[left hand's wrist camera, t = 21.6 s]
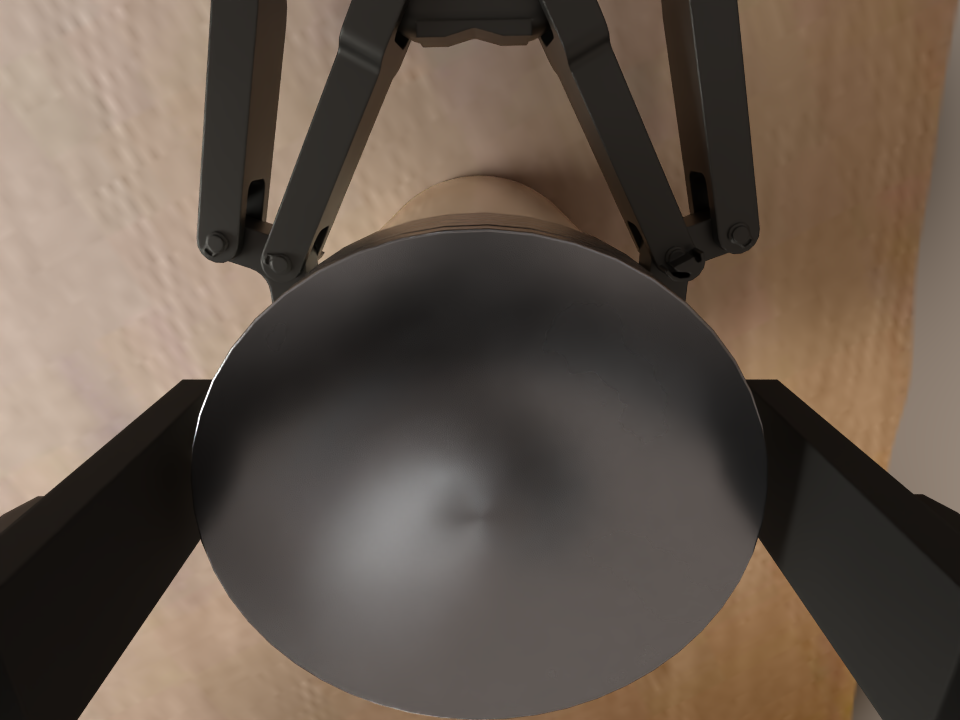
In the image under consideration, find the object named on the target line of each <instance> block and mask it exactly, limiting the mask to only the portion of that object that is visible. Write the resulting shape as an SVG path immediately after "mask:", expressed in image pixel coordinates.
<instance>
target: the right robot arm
mask: <svg viewBox="0 0 960 720" xmlns="http://www.w3.org/2000/svg"><path fill="white" fill-rule="evenodd" d="M661 2H662V13H663V22H664V29H665V37H666V44H667V51H668V58H669V65H670V73H671V80H672V87H673V94H674V101H675V109H676V116H677V123H678V130H679V137H680V145H681V152H682V159H683V166H684V173H685V181H686V188H687V195H688V202H689V209H690V215H688V216H685V217H682V214H681V212H680V210H679V207H678V205H677V203H676V200H675V198H674V195H673V193H672V191H671V188H670V186H669V183H668V181H667V179H666V176H665V174H664V172H663V169H662V167H661V164H660V162H659V160H658V157H657V155H656V152H655V150H654V148H653V145H652V143H651V141H650V138H649V136H648V133H647V131H646V129H645V126H644V124H643V121H642V119H641V117H640V114H639V112H638V110H637V107H636V105H635V102H634V100H633V98H632V95H631V93H630V90H629V88H628V86H627V83H626V81H625V79H624V76H623V74H622V71H621V69H620V67H619V64H618V62H617V59H616V57H615V55H614V52H613V50H612V47H611V44H610V37H609V31H608V27H607V24H606V21H605V19H604V16H603V14H602V11H601V9H600V7H599V4H598V2H597V0H352V1H351V4H350V7H349V9H348V12H347V15H346V17H345V20H344V23H343V26H342V29H341V32H340V37H339V48H338V52H337V55H336V58H335V61H334V63H333V66H332V69H331V71H330V74H329V77H328V79H327V82H326V85H325V87H324V90H323V93H322V95H321V98H320V101H319V103H318V106H317V109H316V111H315V114H314V117H313V119H312V122H311V125H310V127H309V130H308V133H307V135H306V138H305V141H304V143H303V146H302V149H301V151H300V154H299V157H298V159H297V162H296V165H295V167H294V170H293V173H292V175H291V178H290V181H289V183H288V186H287V189H286V191H285V194H284V197H283V199H282V202H281V205H280V207H279V210H278V213H277V215H276V218H275V221H274V223H273V224H270V223H267V222H266V217H267V207H268V198H269V188H270V178H271V168H272V158H273V149H274V139H275V129H276V119H277V109H278V100H279V90H280V80H281V70H282V60H283V51H284V41H285V31H286V17H287V0H211V11H210V28H209V44H208V61H207V77H206V93H205V110H204V126H203V143H202V159H201V175H200V192H199V208H198V225H197V244H198V248H199V249H200V251H201V253H202V254H203V255H204V256H205V257H206V258H207V259H209V260H211V261H213V262H216V263H224V262H227V261H229V262H233V263H236V264H239V265H242V266H245V267H248V268H251V269H253V270H255V271H257V272H258V273H260V274H261V275H262V276H263V277H264V278H265V280H266V281H267V283H268V285H269V288H270V291H271V298H272V303H273V302H274V301H275V300H277V299H278V298H279V297H280V296H281V295H282V294H283V293H284V292H286V291H287V290H288V289H289V288H290V287H292V286H293V285H294V284H295V283H296V282H298V281H299V280H300V279H301V278H302V277H304V276H305V275H306V274H307V273H308V272H310V271H311V270H312V269H313V268H314V267H316V266H317V265H318V260H319V259H320V258H321V257H322V256H323V254H324V253H325V252H323V251H322V249H323V247H324V244H325V242H326V240H327V237H328V235H329V232H330V230H331V227H332V225H333V223H334V220H335V218H336V215H337V213H338V210H339V208H340V206H341V203H342V201H343V198H344V196H345V193H346V191H347V189H348V186H349V184H350V181H351V179H352V176H353V174H354V171H355V169H356V167H357V164H358V162H359V159H360V157H361V154H362V152H363V150H364V147H365V145H366V142H367V140H368V137H369V135H370V133H371V130H372V128H373V125H374V123H375V120H376V118H377V116H378V113H379V111H380V108H381V106H382V103H383V101H384V99H385V96H386V94H387V91H388V89H389V86H390V84H391V82H392V80H393V78H394V76H395V75H396V73H397V72H398V70H399V68H400V66H401V64H402V61H403V59H404V57H405V54H406V52H407V49H408V47H409V45H410V42H411V40H412V41H414V42H417V43H420V44H421V45H422V46H423V47H449V46H452V45H455V44H458V43H461V42H465V41H468V40H471V39H479V40H483V41H486V42H490V43H493V44H497V45H500V46H513V45H527V44H528V42H529V41H531V40H534V39H536V38H539V40H540V43H541V45H542V47H543V49H544V51H545V54H546V56H547V58H548V60H549V62H550V64H551V66H552V68H553V69H554V71H555V72H556V74H557V75H558V77H559V79H560V81H561V83H562V85H563V87H564V90H565V92H566V94H567V96H568V98H569V101H570V103H571V105H572V107H573V109H574V111H575V114H576V116H577V118H578V120H579V122H580V125H581V127H582V129H583V131H584V133H585V136H586V138H587V140H588V142H589V144H590V147H591V149H592V151H593V153H594V155H595V158H596V160H597V162H598V164H599V166H600V169H601V171H602V173H603V175H604V177H605V180H606V182H607V184H608V186H609V188H610V191H611V193H612V195H613V197H614V199H615V202H616V204H617V206H618V208H619V210H620V213H621V215H622V217H623V219H624V221H625V223H626V226H627V228H628V230H629V232H630V234H631V237H632V239H633V241H634V243H635V245H636V248H637V250H638V252H639V253H640V256H639V264H640V265H641V266H642V267H644V268H645V269H646V270H648V271H649V272H650V273H652V274H653V275H654V276H655V277H657V278H658V279H659V280H660V281H661V282H663V283H664V284H665V285H666V286H667V287H668V288H670V289H671V290H672V291H673V292H674V293H676V294H677V295H678V296H679V297H680V298H682V299H683V300H684V301H686V292H687V284H688V281H691V280H693V279H694V278H696V277H697V276H698V275H699V274H700V273H701V271H702V270H703V268H704V264H705V261H707V260H709V259H712V258H715V257H718V256H720V255H723V254H726V253H732V254H740V253H743V252H745V251H748V250H749V249H750V248H751V247H752V246H754V245H755V243H756V241H757V239H758V237H759V230H760V227H759V217H758V207H757V196H756V186H755V176H754V166H753V156H752V146H751V135H750V125H749V115H748V105H747V95H746V84H745V74H744V64H743V54H742V44H741V33H740V23H739V13H738V3H737V0H661Z"/></svg>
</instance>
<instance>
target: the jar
mask: <svg viewBox="0 0 960 720" xmlns="http://www.w3.org/2000/svg"><path fill="white" fill-rule="evenodd" d="M481 212H489V213H500V214H511V215H521V216H527V217H532V218H536V219H540V220H545V221H549V222H553V223H558V224H561V225H564V226H567V227H569V228H572V229H575V230H577V231H580V230H579V229H578V228H577V227H576V226H575V225H574V224H573V223H572V222H571V221H570V220H569V219H568V218H567V217H566V216H565V215H564V214H563V213H562V212H561V211H560V210H559V209H558V208H557V207H556V206H555V205H554V204H553V203H552V202H551V201H549V200H548V199H547V198H546V197H545V196H543V195H542V194H540V193H538V192H537V191H535V190H533V189H532V188H530V187H528V186H525V185H523V184H521V183H519V182H516V181H512V180H509V179H505V178H500V177H494V176H466V177H458V178H454V179H451V180H447V181H443V182H441V183H439V184H436V185H434V186H432V187H429V188H428V189H426V190H424V191H423V192H421V193H419V194H418V195H416V196H415V197H414V198H413V199H411V200H410V201H409V202H408V203H406V204H405V205H404V206H403V207H402V208H401V209H400V210H399V211H398V212H397V213H396V214H395V215H394V216H393V217H392V218H391V219H390V220H389V221H388V222H387V223H386V224H385V225H384V226H383V227H382V228H381V229H380V230H384V229H387V228H390V227H393V226H396V225H399V224H402V223H405V222H409V221H412V220H417V219H422V218H428V217H434V216H439V215H445V214H457V213H481ZM380 230H379V231H380ZM580 232H581V231H580Z"/></svg>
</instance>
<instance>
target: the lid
mask: <svg viewBox="0 0 960 720" xmlns="http://www.w3.org/2000/svg"><path fill="white" fill-rule="evenodd" d="M191 489H192V499H193V509H194V514H195V518H196V522H197V526H198V530H199V534H200V538H201V542H202V544H203V546H204V549H205V551H206V554H207V556H208V558H209V561H210V563H211V566H212V568H213V570H214V572H215V574H216V576H217V577H218V579H219V581H220V582H221V584H222V586H223V587H224V589H225V591H226V593H227V594H228V596H229V598H230V599H231V600H232V601H233V603H234V604H235V605H236V607H237V608H238V609H239V610H240V612H241V613H242V614H243V616H244V617H245V618H246V619H247V621H248V622H249V623H250V624H251V625H252V626H253V627H254V628H255V629H256V630H257V631H258V632H259V633H260V634H261V635H262V636H263V637H264V638H265V639H266V640H267V641H268V642H269V643H270V644H271V645H272V646H274V647H275V648H276V649H277V650H279V651H280V652H281V653H282V654H284V655H285V656H286V657H288V658H289V659H290V660H291V661H293V662H294V663H295V664H297V665H298V666H300V667H302V668H303V669H305V670H306V671H308V672H310V673H311V674H313V675H314V676H316V677H318V678H319V679H321V680H322V681H325V682H327V683H329V684H331V685H333V686H335V687H337V688H339V689H341V690H343V691H345V692H347V693H349V694H352V695H354V696H357V697H360V698H362V699H365V700H368V701H371V702H373V703H376V704H379V705H382V706H386V707H390V708H394V709H398V710H402V711H405V712H409V713H415V714H421V715H427V716H434V717H440V718H452V719H468V720H486V719H509V718H517V717H525V716H533V715H539V714H544V713H548V712H553V711H557V710H562V709H566V708H570V707H573V706H576V705H579V704H582V703H585V702H588V701H591V700H594V699H597V698H600V697H602V696H604V695H607V694H609V693H611V692H613V691H616V690H618V689H620V688H623V687H625V686H627V685H629V684H630V683H632V682H634V681H636V680H637V679H639V678H641V677H643V676H644V675H646V674H648V673H650V672H652V671H653V670H655V669H656V668H657V667H659V666H660V665H662V664H663V663H664V662H666V661H667V660H669V659H670V658H671V657H673V656H674V655H676V654H677V653H678V652H679V651H681V650H682V649H683V648H684V647H685V646H686V645H687V644H688V643H689V642H690V641H692V640H693V639H694V638H695V637H696V636H697V635H698V634H699V633H700V632H701V631H702V630H703V629H704V628H705V627H706V626H707V625H708V623H709V622H710V621H711V620H712V619H713V618H714V616H715V615H716V614H717V613H718V612H719V611H720V610H721V608H722V607H723V606H724V604H725V603H726V601H727V600H728V598H729V596H730V595H731V593H732V592H733V590H734V589H735V587H736V586H737V584H738V583H739V581H740V579H741V577H742V575H743V573H744V571H745V569H746V567H747V565H748V563H749V561H750V558H751V556H752V554H753V552H754V549H755V545H756V542H757V539H758V536H759V533H760V530H761V526H762V523H763V517H764V511H765V504H766V498H767V492H768V458H767V451H766V445H765V438H764V432H763V425H762V422H761V419H760V416H759V413H758V410H757V407H756V404H755V401H754V397H753V394H752V392H751V390H750V388H749V386H748V384H747V382H746V380H745V378H744V376H743V374H742V372H741V370H740V368H739V366H738V364H737V362H736V360H735V359H734V358H733V356H732V355H731V353H730V352H729V351H728V349H727V348H726V346H725V345H724V344H723V342H722V341H721V340H720V338H719V337H718V335H717V334H716V333H715V331H714V330H713V329H712V328H711V327H710V326H709V325H708V324H707V323H706V322H705V321H704V320H703V319H702V318H701V317H700V316H699V315H698V314H697V313H696V312H695V311H694V310H693V309H692V308H691V307H690V306H689V305H688V304H687V303H686V302H685V301H684V300H683V299H682V298H680V297H679V296H678V295H677V294H676V293H674V292H673V291H672V290H671V289H670V288H668V287H667V286H666V285H665V284H664V283H663V282H661V281H660V280H659V279H658V278H657V277H655V276H654V275H653V274H652V273H650V272H649V271H648V270H646V269H645V268H644V267H642V266H641V265H640V264H638V263H637V262H636V261H634V260H633V259H632V258H630V257H629V256H628V255H626V254H624V253H623V252H621V251H619V250H617V249H615V248H614V247H612V246H610V245H608V244H606V243H604V242H603V241H601V240H599V239H597V238H595V237H593V236H590V235H588V234H585V233H582V232H580V231H577V230H575V229H572V228H569V227H567V226H564V225H561V224H558V223H553V222H549V221H545V220H540V219H536V218H532V217H527V216H521V215H511V214H500V213H489V212H481V213H457V214H445V215H439V216H434V217H428V218H422V219H417V220H412V221H409V222H405V223H402V224H399V225H396V226H393V227H390V228H387V229H384V230H380V231H377V232H375V233H373V234H371V235H369V236H367V237H365V238H363V239H361V240H359V241H356V242H354V243H352V244H350V245H348V246H346V247H344V248H343V249H341V250H340V251H338V252H337V253H335V254H334V255H332V256H331V257H329V258H328V259H326V260H325V261H323V262H322V263H320V264H319V265H317V266H316V267H314V268H313V269H312V270H311V271H310V272H308V273H307V274H306V275H305V276H304V277H302V278H301V279H300V280H299V281H298V282H296V283H295V284H294V285H293V286H292V287H290V288H289V289H288V290H287V291H286V292H284V293H283V294H282V295H281V296H280V297H279V298H278V299H277V300H275V301H274V302H273V303H272V304H271V305H270V306H269V307H268V308H267V309H265V310H264V311H263V312H262V313H261V314H260V315H259V316H258V317H257V318H255V320H254V321H253V322H252V323H251V324H250V326H249V327H248V328H247V329H246V331H245V332H244V333H243V334H242V335H241V337H240V338H239V339H238V340H237V341H236V343H235V344H234V345H233V346H232V348H231V349H230V351H229V352H228V354H227V356H226V358H225V359H224V361H223V363H222V364H221V366H220V368H219V369H218V371H217V373H216V375H215V376H214V378H213V380H212V382H211V385H210V387H209V390H208V392H207V395H206V397H205V400H204V402H203V405H202V408H201V410H200V413H199V418H198V422H197V427H196V431H195V436H194V440H193V445H192V462H191Z"/></svg>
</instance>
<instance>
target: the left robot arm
mask: <svg viewBox="0 0 960 720" xmlns="http://www.w3.org/2000/svg"><path fill="white" fill-rule="evenodd" d="M211 382H212V380H182V381H180V382H179V383H178V384H177V385H176V386H175V387H173V388H172V389H171V390H170V391H169V392H167V393H166V394H165V395H164V396H163V397H161V398H160V399H159V400H158V401H157V402H156V403H154V404H153V405H152V406H151V407H150V408H148V409H147V410H146V411H145V412H144V413H142V414H141V415H140V416H139V417H138V418H137V419H135V420H134V421H133V422H132V423H131V424H129V425H128V426H127V427H126V428H125V429H123V430H122V431H121V432H120V433H119V434H118V435H116V436H115V437H114V438H113V439H112V440H110V441H109V442H108V443H107V444H106V445H104V446H103V447H102V448H101V449H100V450H99V451H97V452H96V453H95V454H94V455H93V456H91V457H90V458H89V459H88V460H87V461H85V462H84V463H83V464H82V465H81V466H79V467H78V468H77V469H76V470H75V471H74V472H72V473H71V474H70V475H69V476H68V477H66V478H65V479H64V480H63V481H62V482H60V483H59V484H58V485H57V486H56V487H55V488H53V489H52V490H51V491H50V492H49V493H47V494H46V495H45V496H38V497H36V498H34V499H32V500H30V501H28V502H26V503H24V504H22V505H20V506H19V507H17V508H15V509H13V510H11V511H9V512H7V513H5V514H3V515H2V516H1V517H0V720H78V718H79V717H80V715H81V714H82V712H83V711H84V709H85V708H86V706H87V705H88V703H89V702H90V700H91V699H92V698H93V696H94V695H95V693H96V692H97V690H98V689H99V687H100V686H101V684H102V683H103V681H104V680H105V678H106V677H107V676H108V674H109V673H110V671H111V670H112V668H113V667H114V665H115V664H116V662H117V661H118V659H119V658H120V657H121V655H122V654H123V652H124V651H125V649H126V648H127V646H128V645H129V643H130V642H131V640H132V639H133V637H134V636H135V635H136V633H137V632H138V630H139V629H140V627H141V626H142V624H143V623H144V621H145V620H146V618H147V617H148V615H149V614H150V613H151V611H152V610H153V608H154V607H155V605H156V604H157V602H158V601H159V599H160V598H161V596H162V595H163V593H164V592H165V591H166V589H167V588H168V586H169V585H170V583H171V582H172V580H173V579H174V577H175V576H176V574H177V573H178V571H179V570H180V569H181V567H182V566H183V564H184V563H185V561H186V560H187V558H188V557H189V555H190V554H191V552H192V551H193V549H194V548H195V547H196V545H197V544H198V542H199V541H200V539H201V538H200V534H199V530H198V526H197V522H196V518H195V514H194V509H193V499H192V489H191V462H192V445H193V440H194V436H195V431H196V427H197V422H198V418H199V413H200V410H201V408H202V405H203V402H204V400H205V397H206V395H207V392H208V390H209V387H210V385H211ZM746 382H747V384H748V386H749V388H750V390H751V392H752V394H753V397H754V401H755V404H756V407H757V410H758V413H759V416H760V419H761V422H762V425H763V432H764V438H765V445H766V451H767V458H768V492H767V498H766V504H765V511H764V517H763V523H762V526H761V530H760V533H759V536H758V538H759V539H760V541H761V542H762V544H763V545H764V547H765V548H766V549H767V551H768V552H769V554H770V555H771V557H772V558H773V560H774V561H775V563H776V564H777V566H778V567H779V569H780V570H781V571H782V573H783V574H784V576H785V577H786V579H787V580H788V582H789V583H790V585H791V586H792V588H793V589H794V591H795V592H796V593H797V595H798V596H799V598H800V599H801V601H802V602H803V604H804V605H805V607H806V608H807V610H808V611H809V613H810V614H811V615H812V617H813V618H814V620H815V621H816V623H817V624H818V626H819V627H820V629H821V630H822V632H823V633H824V635H825V636H826V637H827V639H828V640H829V642H830V643H831V645H832V646H833V648H834V649H835V651H836V652H837V654H838V655H839V657H840V658H841V659H842V661H843V662H844V664H845V665H846V667H847V668H848V670H849V671H850V673H851V674H852V676H853V677H854V678H855V680H856V681H857V683H858V684H859V686H860V687H861V689H862V690H863V692H864V693H865V695H866V696H867V698H868V699H869V700H870V702H871V703H872V705H873V706H874V708H875V709H876V711H877V712H878V714H879V715H880V717H881V718H882V719H883V720H960V514H959V513H957V512H956V511H954V510H952V509H950V508H948V507H946V506H944V505H942V504H940V503H938V502H937V501H935V500H933V499H931V498H929V497H927V496H925V495H923V494H913V493H911V492H910V491H909V490H908V489H907V488H905V487H904V486H903V485H902V484H901V483H900V482H898V481H897V480H896V479H895V478H894V477H892V476H891V475H890V474H889V473H888V472H886V471H885V470H884V469H883V468H882V467H880V466H879V465H878V464H877V463H876V462H875V461H873V460H872V459H871V458H870V457H869V456H867V455H866V454H865V453H864V452H863V451H861V450H860V449H859V448H858V447H857V446H856V445H854V444H853V443H852V442H851V441H850V440H848V439H847V438H846V437H845V436H844V435H842V434H841V433H840V432H839V431H838V430H837V429H835V428H834V427H833V426H832V425H831V424H829V423H828V422H827V421H826V420H825V419H823V418H822V417H821V416H820V415H819V414H818V413H816V412H815V411H814V410H813V409H812V408H810V407H809V406H808V405H807V404H806V403H804V402H803V401H802V400H801V399H800V398H799V397H797V396H796V395H795V394H794V393H793V392H791V391H790V390H789V389H788V388H787V387H785V386H784V385H783V384H782V383H781V382H780V381H778V380H746Z"/></svg>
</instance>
